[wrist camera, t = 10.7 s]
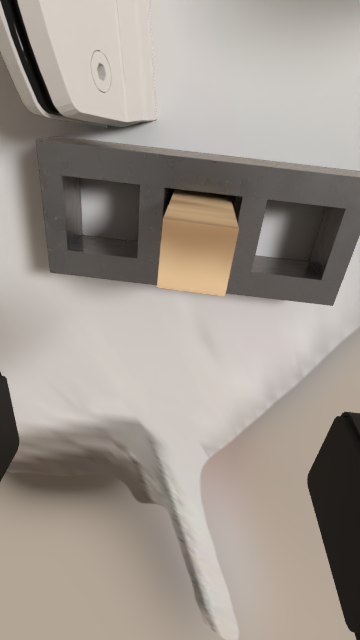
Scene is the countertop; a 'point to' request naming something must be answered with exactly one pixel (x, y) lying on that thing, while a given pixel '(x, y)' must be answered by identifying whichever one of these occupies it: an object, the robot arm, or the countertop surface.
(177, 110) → the countertop surface
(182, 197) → the peg
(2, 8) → the hinge
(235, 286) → the rail
